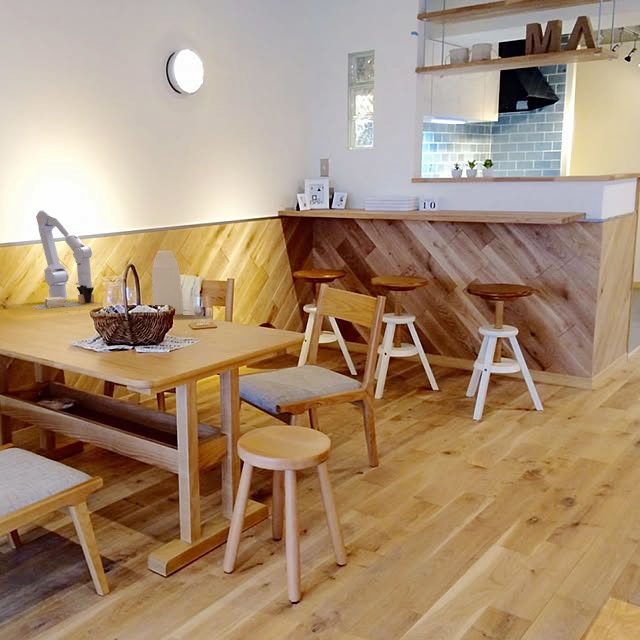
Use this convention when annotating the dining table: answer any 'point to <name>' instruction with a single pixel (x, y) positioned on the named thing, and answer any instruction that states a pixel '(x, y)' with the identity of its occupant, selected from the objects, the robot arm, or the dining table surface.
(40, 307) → the baseplate
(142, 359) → the dining table surface
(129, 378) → the dining table surface
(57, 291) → the robot arm
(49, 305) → the birch block
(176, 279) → the milk
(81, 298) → the terracotta brick
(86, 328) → the dining table surface
